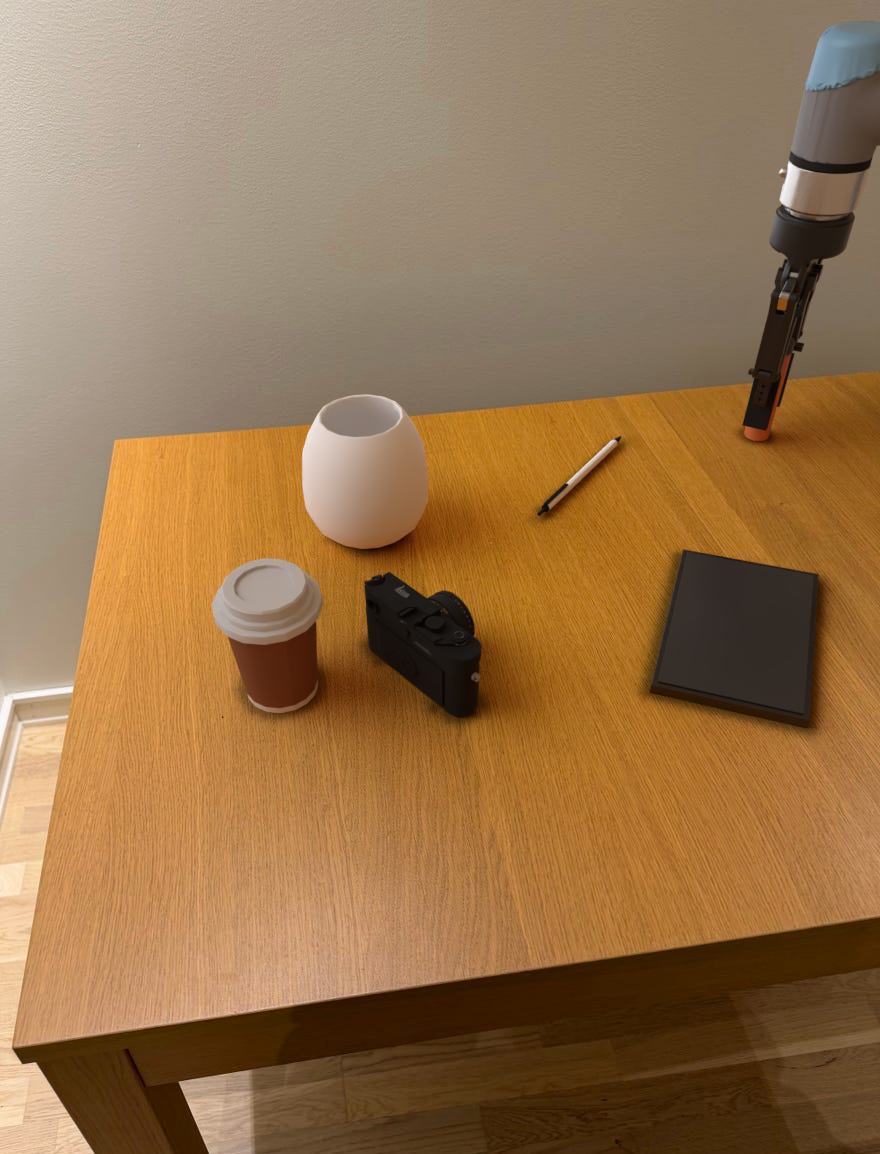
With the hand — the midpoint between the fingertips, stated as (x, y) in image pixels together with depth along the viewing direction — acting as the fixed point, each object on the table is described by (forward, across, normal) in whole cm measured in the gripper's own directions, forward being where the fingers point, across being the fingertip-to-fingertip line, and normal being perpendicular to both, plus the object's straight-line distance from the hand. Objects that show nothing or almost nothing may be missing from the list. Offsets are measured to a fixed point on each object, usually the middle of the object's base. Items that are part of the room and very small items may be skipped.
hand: (761, 414), depth 108 cm
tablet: (+3, +35, +8) cm, 36 cm away
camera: (+3, +52, -15) cm, 55 cm away
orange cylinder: (+3, 0, 0) cm, 3 cm away
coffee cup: (+3, +61, -26) cm, 67 cm away
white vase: (+3, +37, -32) cm, 49 cm away
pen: (+3, +18, -15) cm, 24 cm away
